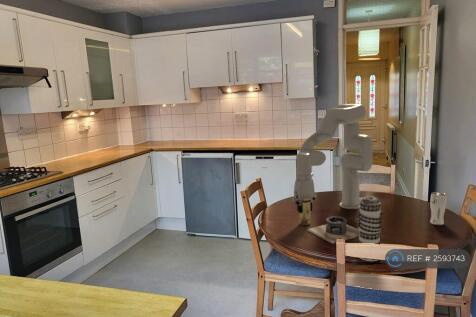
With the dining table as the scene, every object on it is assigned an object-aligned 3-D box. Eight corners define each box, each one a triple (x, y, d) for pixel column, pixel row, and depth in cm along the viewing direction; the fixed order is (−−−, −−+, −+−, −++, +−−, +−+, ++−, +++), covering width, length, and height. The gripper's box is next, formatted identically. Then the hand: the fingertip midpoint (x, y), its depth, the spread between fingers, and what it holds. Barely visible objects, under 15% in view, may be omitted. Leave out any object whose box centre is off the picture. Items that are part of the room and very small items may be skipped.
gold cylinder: (306, 220, 190) (305, 194, 187) (313, 223, 185) (312, 197, 182) (297, 222, 187) (296, 196, 184) (304, 225, 182) (303, 199, 179)
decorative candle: (364, 249, 154) (365, 193, 150) (385, 256, 147) (387, 197, 143) (352, 256, 148) (353, 198, 144) (373, 263, 141) (375, 203, 137)
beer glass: (443, 221, 182) (445, 192, 179) (446, 226, 176) (448, 196, 173) (428, 220, 185) (429, 191, 182) (430, 224, 178) (432, 195, 175)
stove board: (339, 222, 186) (339, 221, 185) (365, 234, 170) (365, 232, 170) (307, 230, 177) (307, 229, 177) (332, 243, 161) (332, 241, 161)
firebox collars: (337, 225, 179) (337, 215, 178) (350, 231, 171) (350, 220, 170) (322, 229, 175) (322, 218, 174) (335, 236, 167) (335, 224, 166)
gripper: (313, 173, 188) (313, 206, 192) (285, 178, 181) (286, 212, 184) (322, 175, 182) (322, 210, 185) (294, 181, 174) (295, 216, 178)
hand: (304, 210), depth 185 cm, fingers closed on gold cylinder, 5 cm apart
